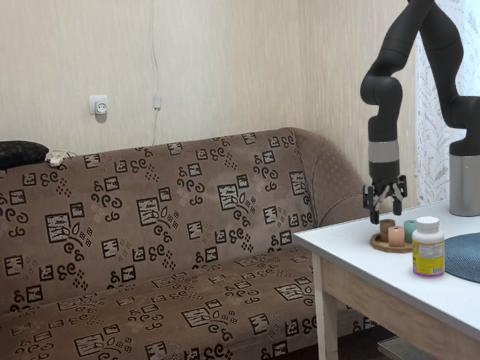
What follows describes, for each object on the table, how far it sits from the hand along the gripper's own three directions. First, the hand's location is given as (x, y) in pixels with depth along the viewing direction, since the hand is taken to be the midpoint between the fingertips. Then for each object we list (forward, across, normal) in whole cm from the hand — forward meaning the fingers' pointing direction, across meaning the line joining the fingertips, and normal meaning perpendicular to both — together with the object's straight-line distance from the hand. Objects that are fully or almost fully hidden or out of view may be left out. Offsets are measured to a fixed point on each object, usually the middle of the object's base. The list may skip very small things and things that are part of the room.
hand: (386, 219), depth 149 cm
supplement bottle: (+6, +11, +21) cm, 24 cm away
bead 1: (+5, +1, +1) cm, 5 cm away
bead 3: (+5, -2, +6) cm, 8 cm away
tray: (+6, +1, +4) cm, 7 cm away
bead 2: (+5, +4, +6) cm, 9 cm away
